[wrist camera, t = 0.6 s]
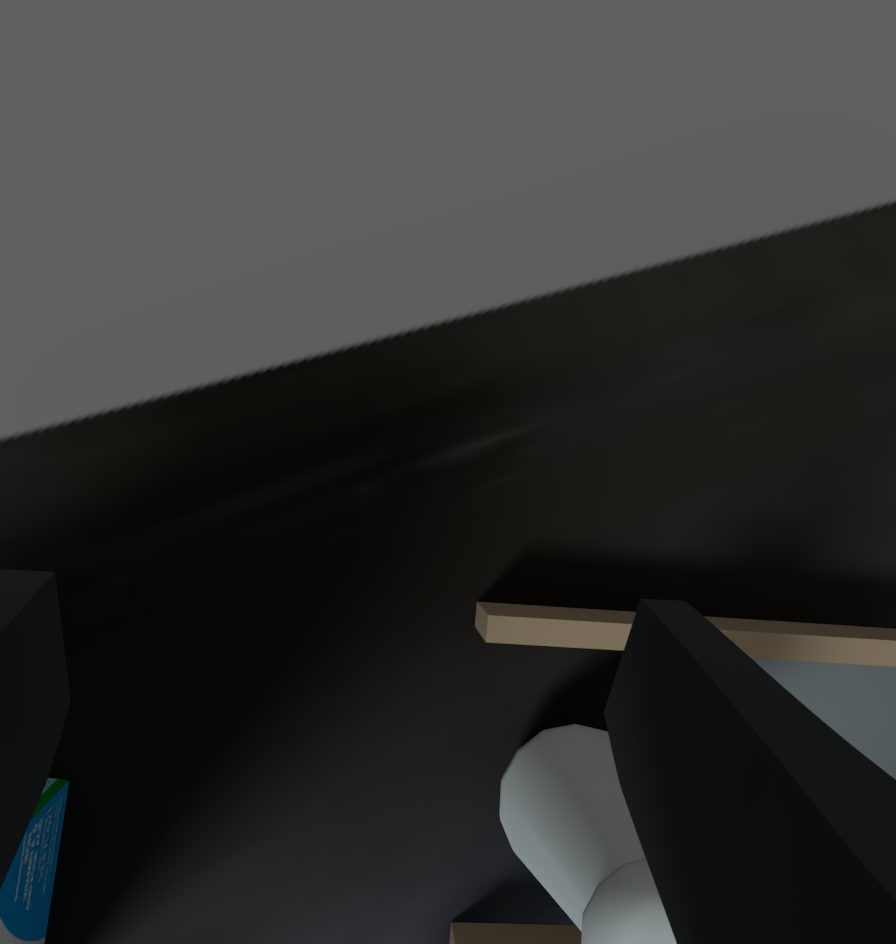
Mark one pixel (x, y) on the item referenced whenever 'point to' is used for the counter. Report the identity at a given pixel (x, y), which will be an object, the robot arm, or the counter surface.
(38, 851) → the milk carton
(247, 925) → the counter surface
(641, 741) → the robot arm
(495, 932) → the tan u-shaped piece
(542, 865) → the salt shaker
